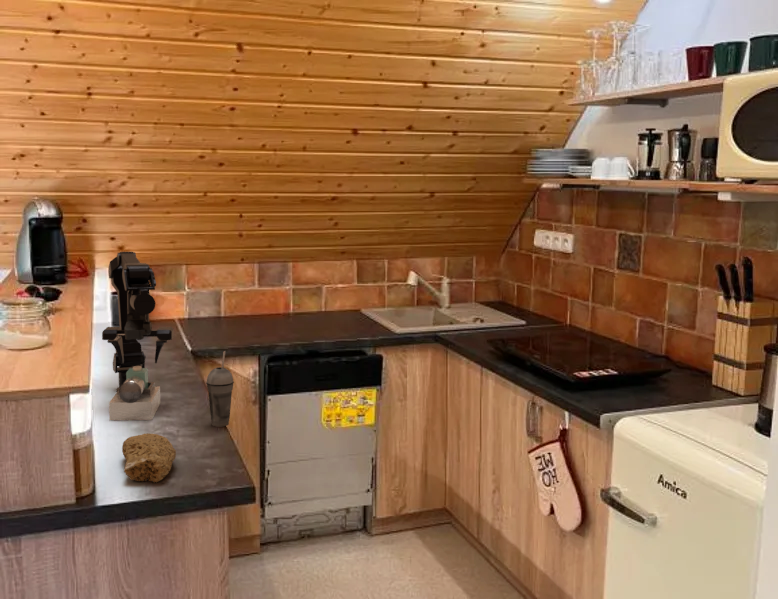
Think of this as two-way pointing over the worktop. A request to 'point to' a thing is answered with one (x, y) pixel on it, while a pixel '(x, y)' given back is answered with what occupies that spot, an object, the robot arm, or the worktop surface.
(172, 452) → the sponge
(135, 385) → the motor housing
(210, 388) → the beverage cup
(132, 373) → the green block with knob
